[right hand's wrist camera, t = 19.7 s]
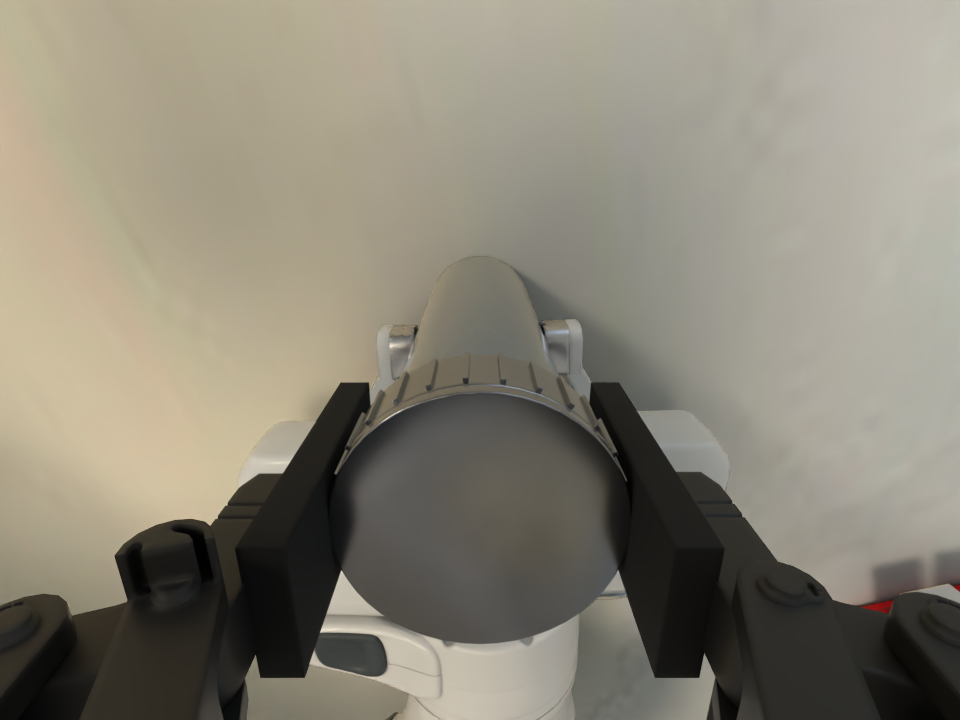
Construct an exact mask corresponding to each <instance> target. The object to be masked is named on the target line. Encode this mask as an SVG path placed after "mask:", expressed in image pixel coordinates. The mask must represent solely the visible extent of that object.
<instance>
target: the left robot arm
mask: <svg viewBox="0 0 960 720" xmlns="http://www.w3.org/2000/svg"><path fill="white" fill-rule="evenodd" d="M540 326H541V329H542V331H543V334H544V336H545V339H546V342H547V344H548V347H549V350H550V352H551V355H552V357H553V360H554V363H555V365H556V368H557V371H558V373H559V374H565V375H566V377H567V378H568V380H569V382H570V383H571V385H572V387H573V388H574V390H575V391H576V392H577V393H578V394H579V395H580V396H582V395H585V396H586V397H587V400H588V402H589V400H590V387H591V383H592V382H591V380H590V379H589V377H588V375H587V374H586V372H585V370H584V368H583V367H582V353H583V333H582V327H581V325H580V324H579V322H578V320H577V319H567V320H542V321H541V323H540ZM417 330H418V325H385V326H381V327H380V329H379V331H378V332H377V337H376V350H377V360H378V369H379V375H378V377H377V379H376V381H375V383H374V385H373V387H372V389H371V391H370V404H371V405H372V404H373V402H374V400H375V398H376V396H377V393H378V392H379V391H380V390H383V391H385V390H386V389H387V388H388V387H389V386H390V385H392V384H393V383H394V382H395V380H396V379H399V377H400V375H401V372H402V370H403V367H404V364H405V362H406V359H407V356H408V354H409V351H410V348H411V346H412V343H413V340H414V338H415V335H416V333H417ZM637 412H638V413H639V415H640V416H641V418H642V420H643V421H644V423H645V424H646V426H647V427H648V429H649V431H650V432H651V434H652V435H653V437H654V438H655V440H656V441H657V443H658V445H659V446H660V448H661V449H662V451H663V452H664V454H665V456H666V457H667V459H668V460H669V462H670V463H671V465H672V466H673V468H674V470H675V471H676V472H702V473H703V474H705V475H706V476H708V477H709V478H711V479H712V480H713V481H715V482H716V483H718V484H719V485H721V487H722V488H723V489H724V491H726V487H727V483H728V478H729V472H730V462H729V458H728V456H727V454H726V451H725V450H724V448H723V447H722V445H721V444H720V442H719V441H718V440H717V439H716V437H715V436H714V435H713V433H712V432H711V431H710V430H709V429H708V428H707V427H706V426H705V425H704V424H703V423H702V422H701V421H700V420H699V419H698V418H697V417H696V416H695V415H693V414H692V413H691V412H689V411H686V410H653V411H637ZM315 422H316V421H289V422H280V423H277V424H275V425H274V426H273V427H271V428H270V429H269V431H268V432H267V433H266V434H265V435H264V436H263V437H262V438H261V439H260V440H259V442H258V443H257V444H256V445H255V446H254V448H253V449H252V450H251V452H250V453H249V455H248V456H247V458H246V459H245V461H244V463H243V464H242V466H241V468H240V471H239V474H238V479H237V485H238V488H239V487H240V486H242V485H243V484H245V483H246V482H247V481H249V480H250V479H252V478H253V477H255V476H256V475H258V474H259V473H283V472H284V471H285V469H286V468H287V466H288V464H289V463H290V461H291V460H292V458H293V457H294V455H295V453H296V452H297V450H298V449H299V447H300V446H301V444H302V443H303V441H304V439H305V438H306V436H307V435H308V433H309V432H310V430H311V428H312V427H313V425H314V424H315ZM625 597H627V594H626V591H625V589H624V586H623V583H622V580H621V577H620V574H619V571H617V573H616V575H615V577H614V578H613V579H612V581H611V582H610V583H609V585H608V586H607V588H606V589H605V590H604V591H603V592H602V593H601V594H600V595H599V597H598V598H597V599H596V600H607V599H619V598H625ZM579 620H580V613H579V614H578V615H576V616H574V617H573V618H571V619H570V620H568V621H567V622H565V623H563V624H561V625H559V626H557V627H555V628H553V629H551V630H549V631H546V632H543V633H540V634H538V635H535V636H532V637H528V638H524V639H520V640H516V641H510V642H503V643H494V644H465V643H456V642H450V641H443V640H439V639H435V638H432V637H428V636H425V635H422V634H419V633H416V632H414V631H411V630H409V629H407V628H405V627H403V626H401V625H399V624H396V623H394V622H393V621H391V620H390V619H388V618H387V617H385V616H384V615H382V614H380V613H379V612H378V611H377V610H375V609H374V608H373V607H372V606H370V605H369V604H368V603H367V602H366V601H365V600H364V599H363V598H362V597H361V596H360V595H359V594H358V593H357V592H356V591H355V589H354V588H353V587H352V585H351V584H350V583H349V581H348V580H347V579H346V577H345V575H344V574H343V572H342V570H341V573H340V576H339V579H338V582H337V585H336V588H335V591H334V593H333V596H332V599H331V602H330V605H329V608H328V611H327V614H326V617H325V620H324V623H323V626H322V629H321V632H320V634H319V637H318V640H317V643H316V646H315V649H314V652H313V655H312V658H311V661H310V664H309V665H312V666H317V667H321V668H326V669H331V670H336V671H340V672H344V673H349V674H353V675H357V676H360V677H364V678H368V679H371V680H374V681H377V682H380V683H383V684H386V685H389V686H392V687H394V688H396V689H399V690H401V691H403V692H406V693H408V694H409V696H408V700H407V704H406V707H405V709H404V711H403V712H402V713H400V714H398V712H395V713H394V714H393V715H391V716H390V717H389V718H387V719H386V720H575V707H574V701H573V696H572V692H571V689H572V686H573V683H574V680H575V676H576V671H577V662H578V639H579Z"/></svg>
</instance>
